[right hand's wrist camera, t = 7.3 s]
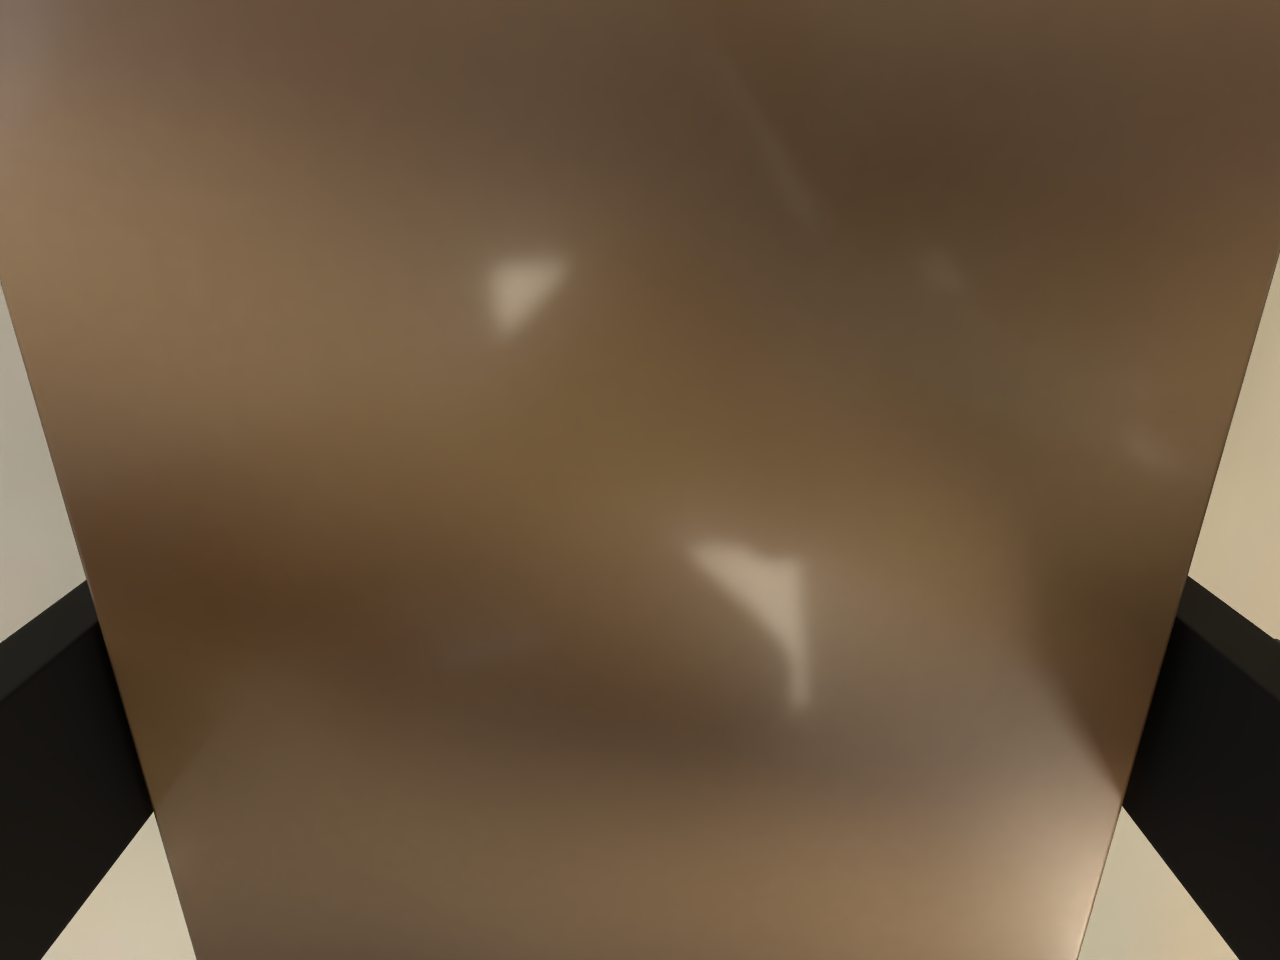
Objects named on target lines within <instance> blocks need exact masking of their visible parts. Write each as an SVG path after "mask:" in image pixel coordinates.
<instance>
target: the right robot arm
mask: <svg viewBox="0 0 1280 960" xmlns="http://www.w3.org/2000/svg"><path fill="white" fill-rule="evenodd" d="M1122 806H1123V808H1124V809H1125V810H1126V812H1127V813H1128V814H1129V815H1130V817H1131V818H1132V819H1133V821H1134V822H1135V823H1136V825H1137V826H1138V827H1139V829H1140V830H1141V831H1142V833H1143V834H1144V835H1145V836H1146V838H1147V839H1148V840H1149V842H1150V843H1151V844H1152V846H1153V847H1154V848H1155V850H1156V851H1157V852H1158V854H1159V855H1160V856H1161V857H1162V859H1163V860H1164V861H1165V863H1166V864H1167V865H1168V867H1169V868H1170V869H1171V871H1172V872H1173V873H1174V875H1175V876H1176V877H1177V879H1178V880H1179V881H1180V882H1181V884H1182V885H1183V886H1184V888H1185V889H1186V890H1187V892H1188V893H1189V894H1190V896H1191V897H1192V898H1193V900H1194V901H1195V902H1196V903H1197V905H1198V906H1199V907H1200V909H1201V910H1202V911H1203V913H1204V914H1205V915H1206V917H1207V918H1208V919H1209V921H1210V922H1211V923H1212V924H1213V926H1214V927H1215V928H1216V930H1217V931H1218V932H1219V934H1220V935H1221V936H1222V938H1223V939H1224V940H1225V942H1226V943H1227V944H1228V946H1229V947H1230V948H1231V949H1232V951H1233V952H1234V953H1235V955H1236V956H1237V957H1238V959H1239V960H1280V640H1278V639H1273V638H1272V637H1271V636H1269V635H1268V634H1266V633H1265V632H1264V631H1262V630H1261V629H1260V628H1258V627H1257V626H1256V625H1254V624H1253V623H1251V622H1250V621H1249V620H1247V619H1246V618H1245V617H1243V616H1242V615H1241V614H1239V613H1238V612H1237V611H1235V610H1234V609H1232V608H1231V607H1230V606H1228V605H1227V604H1226V603H1224V602H1223V601H1222V600H1220V599H1219V598H1218V597H1216V596H1215V595H1213V594H1212V593H1211V592H1209V591H1208V590H1207V589H1205V588H1204V587H1203V586H1201V585H1200V584H1199V583H1197V582H1196V581H1194V580H1193V579H1192V578H1190V577H1189V576H1187V579H1186V583H1185V586H1184V590H1183V593H1182V597H1181V600H1180V604H1179V607H1178V611H1177V614H1176V618H1175V621H1174V625H1173V628H1172V632H1171V635H1170V639H1169V642H1168V646H1167V649H1166V653H1165V656H1164V660H1163V663H1162V667H1161V670H1160V674H1159V677H1158V681H1157V684H1156V688H1155V691H1154V695H1153V698H1152V702H1151V705H1150V709H1149V712H1148V716H1147V719H1146V723H1145V726H1144V730H1143V733H1142V737H1141V740H1140V744H1139V747H1138V751H1137V754H1136V758H1135V761H1134V765H1133V768H1132V772H1131V775H1130V779H1129V782H1128V786H1127V789H1126V793H1125V796H1124V800H1123V803H1122ZM152 813H153V807H152V804H151V800H150V797H149V793H148V790H147V787H146V783H145V780H144V776H143V773H142V769H141V766H140V762H139V759H138V755H137V752H136V749H135V745H134V742H133V738H132V735H131V731H130V728H129V724H128V721H127V717H126V714H125V711H124V707H123V704H122V700H121V697H120V693H119V690H118V686H117V683H116V679H115V676H114V673H113V669H112V666H111V662H110V659H109V655H108V652H107V648H106V645H105V641H104V638H103V635H102V631H101V628H100V624H99V621H98V617H97V614H96V610H95V607H94V603H93V600H92V597H91V593H90V590H89V586H88V583H87V580H86V581H84V582H83V583H81V584H80V585H79V586H77V587H76V588H75V589H73V590H72V591H71V592H69V593H68V594H67V595H65V596H64V597H62V598H61V599H60V600H58V601H57V602H56V603H54V604H53V605H52V606H50V607H49V608H48V609H46V610H45V611H43V612H42V613H41V614H39V615H38V616H37V617H35V618H34V619H33V620H31V621H30V622H28V623H27V624H26V625H24V626H23V627H22V628H20V629H19V630H18V631H16V632H15V633H14V634H12V635H11V636H9V637H8V638H7V639H5V640H4V641H3V642H1V643H0V960H41V959H42V957H43V956H44V955H45V953H46V952H47V951H48V949H49V948H50V947H51V945H52V944H53V943H54V942H55V940H56V939H57V938H58V936H59V935H60V934H61V932H62V931H63V930H64V928H65V927H66V926H67V924H68V923H69V922H70V921H71V919H72V918H73V917H74V915H75V914H76V913H77V911H78V910H79V909H80V907H81V906H82V905H83V903H84V902H85V901H86V899H87V898H88V897H89V896H90V894H91V893H92V892H93V890H94V889H95V888H96V886H97V885H98V884H99V882H100V881H101V880H102V878H103V877H104V876H105V875H106V873H107V872H108V871H109V869H110V868H111V867H112V865H113V864H114V863H115V861H116V860H117V859H118V857H119V856H120V855H121V854H122V852H123V851H124V850H125V848H126V847H127V846H128V844H129V843H130V842H131V840H132V839H133V838H134V836H135V835H136V834H137V832H138V831H139V830H140V829H141V827H142V826H143V825H144V823H145V822H146V821H147V819H148V818H149V817H150V815H151V814H152Z"/></svg>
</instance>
